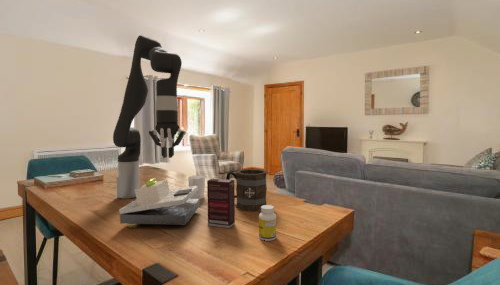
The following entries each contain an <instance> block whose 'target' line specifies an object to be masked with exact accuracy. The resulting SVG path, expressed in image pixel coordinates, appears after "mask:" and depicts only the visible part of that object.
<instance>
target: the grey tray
mask: <svg viewBox="0 0 500 285" xmlns="http://www.w3.org/2000/svg"><path fill="white" fill-rule="evenodd" d="M200 204H201V203H200V199H191V198H189V199H188V200H187V201H186V202H185V203H184V204H180V205H174V206H167V207H161V208H155V209H148V210H142V211H136V212H129V213H123V214H120V213H119V218H120V219H119V222H120V224H126V226H127V228H128V229H136V228H138V226H139V227H140V226H141V225H175V226H176V225H181V226H182V225H183V226H185V225H186V224H187V223H188V222H189V221H191V220H192V217H193V215H194V214H196V212H197V210H198V209H199V208H200V206H201V205H200ZM135 227H136V228H135Z"/></svg>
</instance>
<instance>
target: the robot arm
mask: <svg viewBox="0 0 500 285" xmlns="http://www.w3.org/2000/svg"><path fill="white" fill-rule="evenodd" d="M132 55H133V56H132V60H131V67H130V72H129V76H128V80H127V84H126V86H125V91H124V96H123V100H122V104H121V108H120V111H119V116H118V119H117V122H116V125H115V128H114V131H113V134H112V141H113V142H112V143H113V144H114V146H116V147H117V148H124V151H123V152H122V153H120V154H119V155H118V156H117V176H118V177H116V178H115V179H116V198H117V199H118V198H119V199H124V200H125V199H134V198H136V193H135V189H137V188H139V187H141V186H140V155H141V143H142V139H141V133H140V130H139V129H138V128H136V127H132V123H133V121H134V119H135V117H137V115H138V114H139V113H140V111H141V110H142V109H143V108H144V106H145V104H146V102H147V96H148V92H149V88H148V84H147V82H146V79H145V76H144V73H143V70H142V60H147V61H149V63H150V67H151V70H152V71H154V72H155V73H160V74H161V73H163V74H170V76H169V77H168V78H162V79H158V80H157V81H156V84H155V85H156V87H155V90H156V92H155V93H156V95H155V96H156V99H155V120H156V121H155V127H154V129H152V130H149V131H148V134H149V136H150V137H151V139H152V141H153V142H154V144H155V145H156V146H158V147H160V148H161V151H160V152H161V156H162V158H163V159H166V158H167V157H168V158H169V159H172V158H173V157H174V155H175V147H176V146H179V145H180V143H181V141H182V140H183V138H184V137H185V135H186V133H187V132H186V131H185V130H182V129H181V128H180V126H179V103H178V87H177V86H178V80H179V77H180V76H179V75H180V72H181V68H182V59H181V56H180V55H179V54H177V53H173V52H168V51H167V50H165V48H164V46H163V44H162V43H161V42H160V41H158V40H156V39H153V38H150V37H147V36H144V35H138V36H137V38H136V40H135V43H134V49H133V54H132ZM158 135H159V136H160V137H159V136H158ZM176 135H178V136H177V137H176ZM175 137H176V139H175ZM167 142H168V146H167Z"/></svg>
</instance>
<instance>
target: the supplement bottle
mask: <svg viewBox="0 0 500 285" xmlns="http://www.w3.org/2000/svg"><path fill="white" fill-rule="evenodd" d="M260 211H261V212H260V213H259V215H258V237H259V239H260V240H262V241H264V240H265V241H266V242H270V241H274V240H276V239H277V215H276V213H274V212H275V207H274V206H273V205H270V204H267V205H263V206H261V210H260Z"/></svg>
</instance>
